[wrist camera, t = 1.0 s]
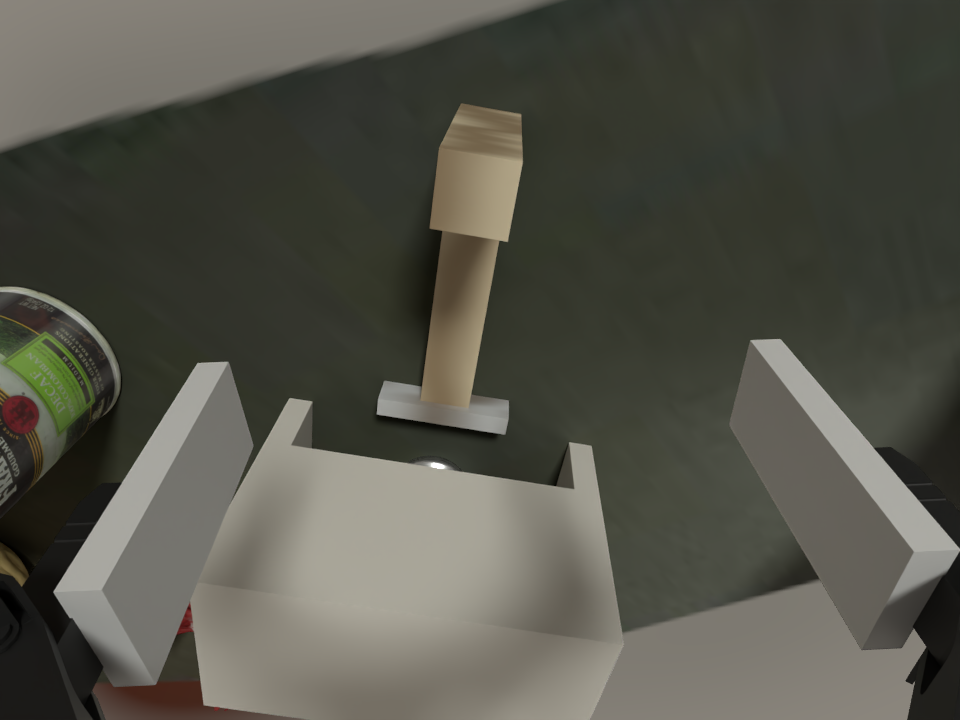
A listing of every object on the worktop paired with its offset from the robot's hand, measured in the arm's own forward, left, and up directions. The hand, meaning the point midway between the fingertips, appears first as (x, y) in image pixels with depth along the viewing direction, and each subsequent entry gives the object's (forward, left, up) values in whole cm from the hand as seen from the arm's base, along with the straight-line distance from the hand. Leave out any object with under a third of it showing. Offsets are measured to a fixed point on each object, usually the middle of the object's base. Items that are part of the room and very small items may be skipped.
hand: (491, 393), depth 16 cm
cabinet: (+1, +21, -19) cm, 28 cm away
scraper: (+1, +5, -19) cm, 20 cm away
